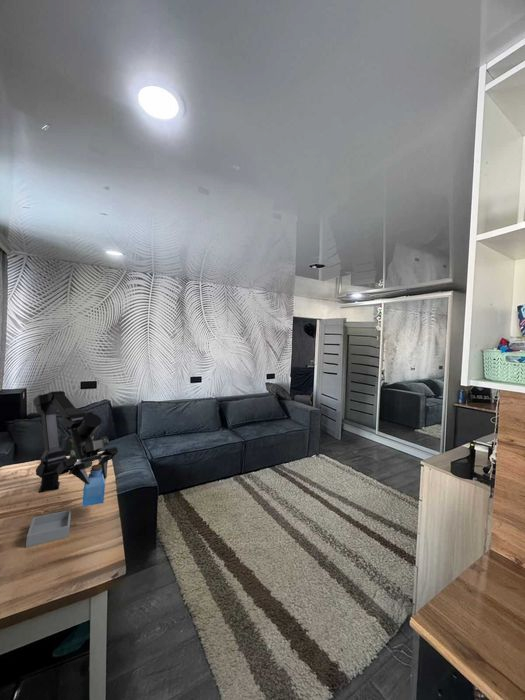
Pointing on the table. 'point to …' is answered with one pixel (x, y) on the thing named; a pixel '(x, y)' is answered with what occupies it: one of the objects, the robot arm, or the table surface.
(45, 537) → the tray
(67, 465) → the robot arm
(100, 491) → the perfume bottle
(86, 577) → the table surface
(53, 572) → the table surface
